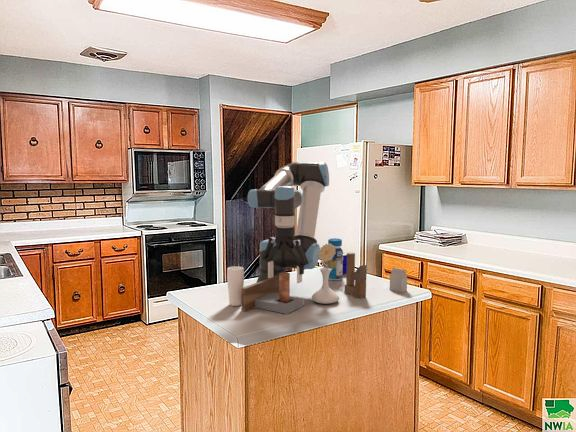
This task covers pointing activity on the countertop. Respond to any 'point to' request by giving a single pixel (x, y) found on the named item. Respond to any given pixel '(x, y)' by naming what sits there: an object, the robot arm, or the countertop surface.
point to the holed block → (278, 303)
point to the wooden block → (355, 278)
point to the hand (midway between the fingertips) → (284, 280)
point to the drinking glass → (235, 284)
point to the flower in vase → (326, 276)
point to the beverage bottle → (336, 260)
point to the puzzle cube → (343, 264)
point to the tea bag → (398, 280)
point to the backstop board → (258, 292)
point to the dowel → (284, 287)
